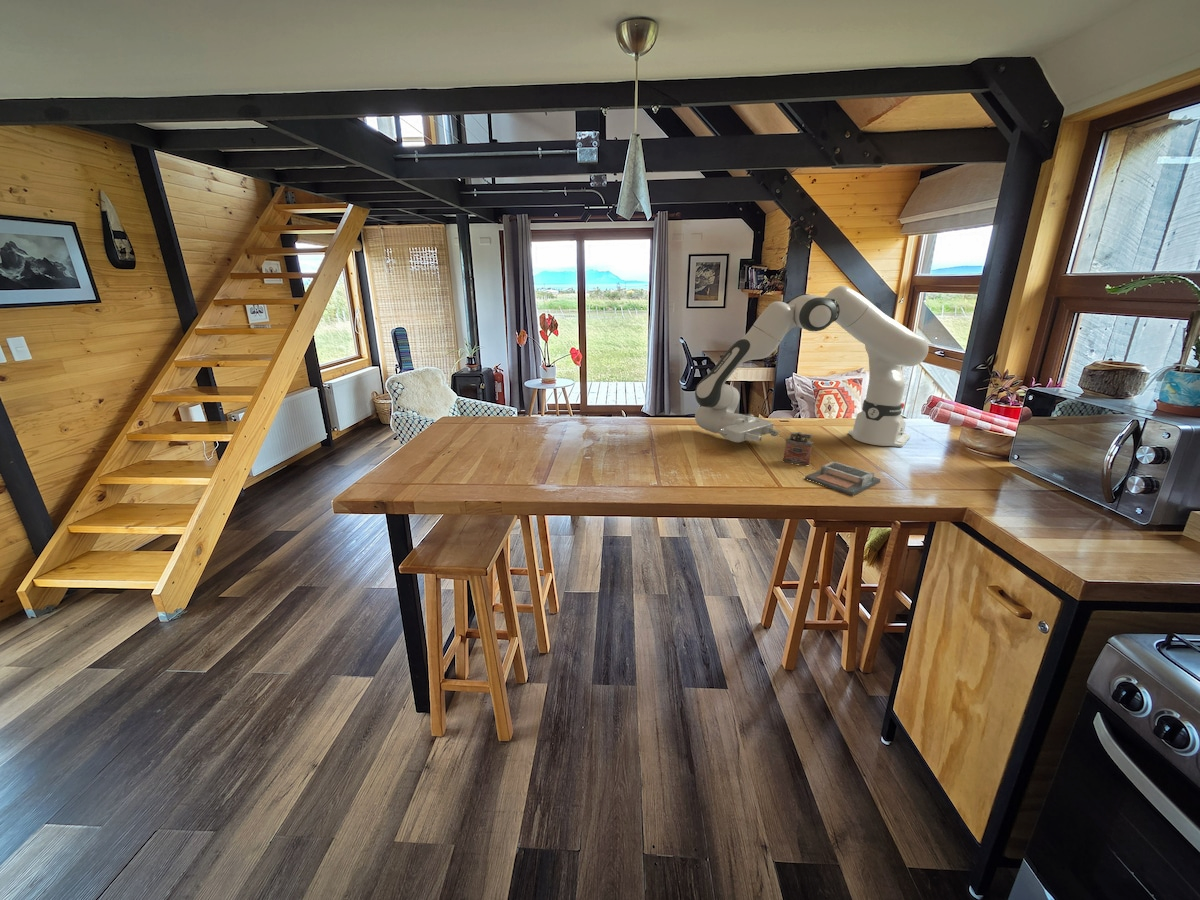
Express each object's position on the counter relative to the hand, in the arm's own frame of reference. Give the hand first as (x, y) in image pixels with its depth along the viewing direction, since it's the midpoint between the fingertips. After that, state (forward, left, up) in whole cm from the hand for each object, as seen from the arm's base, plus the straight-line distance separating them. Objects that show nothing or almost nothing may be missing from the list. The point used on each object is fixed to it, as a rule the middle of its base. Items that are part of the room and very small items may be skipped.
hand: (768, 436), depth 159 cm
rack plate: (+2, +27, -6) cm, 28 cm away
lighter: (0, +11, -6) cm, 12 cm away
